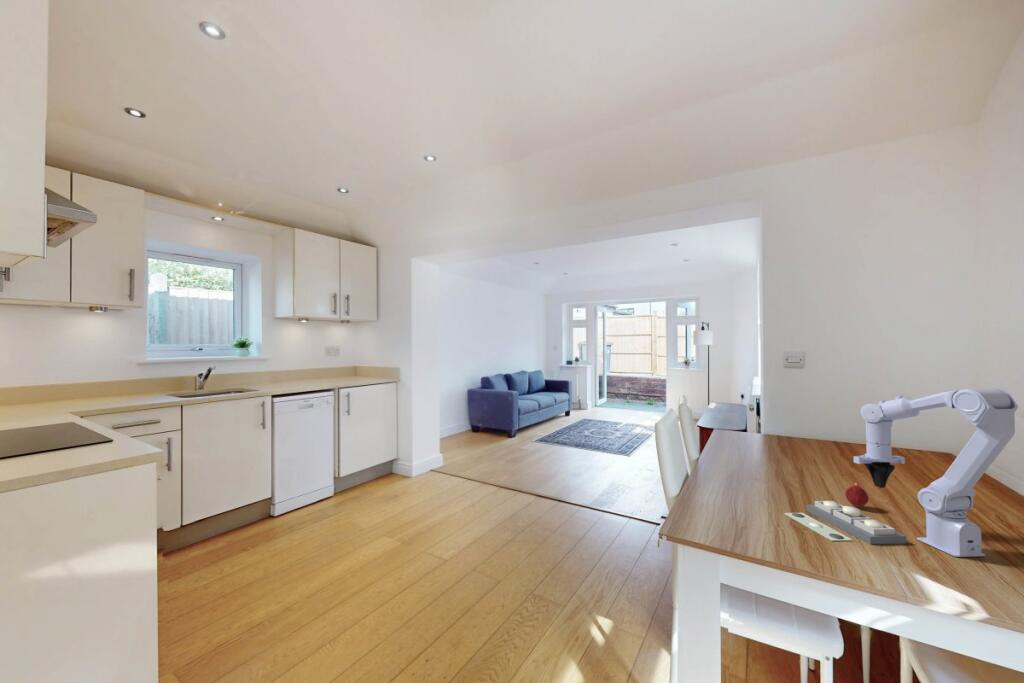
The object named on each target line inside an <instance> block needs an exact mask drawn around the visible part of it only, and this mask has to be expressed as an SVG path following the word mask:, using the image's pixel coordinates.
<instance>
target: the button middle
mask: <svg viewBox="0 0 1024 683" xmlns="http://www.w3.org/2000/svg"><path fill="white" fill-rule="evenodd" d="M843 514H845V515H847V516H850V517H860V514H861V509H860V508H856V507H855V506H851V505H843Z"/></svg>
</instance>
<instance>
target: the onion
mask: <svg viewBox="0 0 1024 683" xmlns="http://www.w3.org/2000/svg"><path fill="white" fill-rule="evenodd" d="M844 494H845V495H844V496H845V498H846V500H847V501H848V502H849V504H851V505H852V507H855V508H858V509H860V507H864V506H865V505H866V504H867V503H869V499H870V498H869V495H868V493H867V491H866V490H865V489H863V488H862V487H861V486H859V483H858V482H857V483H856V482H855V483H854V485H853V486H850V487H848V488H847V489H846V490H845V493H844Z"/></svg>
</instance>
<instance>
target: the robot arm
mask: <svg viewBox="0 0 1024 683" xmlns="http://www.w3.org/2000/svg"><path fill="white" fill-rule="evenodd" d="M878 402H879V403H866V404H863V406H861V408H860V416H861V418H862V419H863V420H864V421H865V443H866V444H865V447H866V453H864V454H862V455H856V456H855V455H854V456H853V463H855V464H857V465H864V466H865V467H866V469H867V470H868V471H869V474H870V475H871V479H872V482H873V484H874V487H878V488H879V489H883V488H886V486H887V483H888V480H889V477H890V475H891V474H892V472H894V470H896V467H895V466H896V465H893V464H903V465H904V464H906V460H905V459H906V458H905V457H904V456H900V455H893V454H892V453H893V452H892V450H893V449H892V447H893V446H892V427H893V422H894V421H898V420H902V419H904V420H905V419H909V418H913V417H917V416H918V415H919V414H920V412H922V411H926V410H932V409H933V410H934V409H938V408H947V407H948V408H950V409H956V410H957V411H958V412H959V413H960V414H961V415H962V416H963V417H964V418H965V419H966V420H968V422H970V423H971V424H972V425H973V427H974V428H975V432H974V433H973V435H972V436H971V437H970V438H969V440H968V441H967V443H966V444H965V446H964V447H963V448H962V449H961V450H960V452H959V453H958V455H957V456H956V457H955V459H954V461H952V463H951V464H950V465H949V467H948V468H947V470H946V472H945V473H944V474H943V475H942V477H940V478H937V479H936V480H934V481H932V482H930V484H929V485H928V486H927V487H923V488H921V489H920V490H918V493H917V499H918V502H919V504H920V505H921V506H922V507H923V509H924V511H925V529H926V534H925V535H926V537H917V538H916V540H917V541H920V542H922V543H924V544H926V545H929V546H931V547H932V548H936V549H938V550H939V551H942V552H944V553H947V554H948V555H951V556H953V557H956V558H957V557H959V558H963V557H966V558H967V557H969V558H971V557H974V558H975V557H985V556H986V554H985V553H984V552H983V546H982V543H983V542H982V532H981V529H980V527H979V526H978V525H977V524H976V523H975V522H972V521H970V520H969V519H968V518H967V517H966V516H967V515H968V514H967V513H968V511H969V510H971V509H973V506H974V497H975V496H976V495H977V493H976V491H975V490H974V489H973V488H974V487H975V486H976V484H977V482H979V481H980V479H981V478H982V477H983V476H984V474H985V473H986V471H987V470H988V469H989V467H990V466H991V465H992V464H993V463H994V461H995V460H996V459H997V458H998V456H999V455H1000V454H1001V452H1003V450H1004V449H1005V448H1006V446H1007V445H1008V444H1009V443H1010V441H1011V440H1012V438H1013V437H1014V436H1015V433H1016V427H1015V426H1016V425H1015V420H1016V419H1015V413H1016V411H1017V409H1019V405H1018V404H1017V403H1016V401H1015V399H1014V398H1013V396H1012V395H1011V394H1010V393H1009V392H1007V391H1005V390H1003V389H1000V388H987V389H984V388H983V389H980V388H979V389H971V388H963V389H960V390H959V389H958V390H948V391H944V392H939V393H936V394H932V395H928V396H923V397H920V398H919V397H918V398H916V399H914V398H911V397H907V396H903V395H898V396H894V399H889V400H879V401H878ZM982 552H983V553H982Z"/></svg>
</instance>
